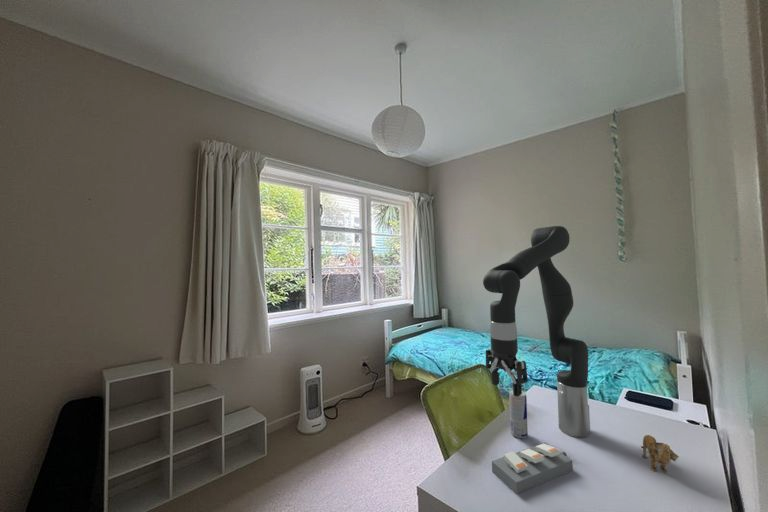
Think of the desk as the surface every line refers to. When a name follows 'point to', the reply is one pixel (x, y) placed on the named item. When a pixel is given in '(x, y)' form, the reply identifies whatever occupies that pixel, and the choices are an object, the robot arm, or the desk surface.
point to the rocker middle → (532, 455)
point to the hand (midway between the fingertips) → (505, 389)
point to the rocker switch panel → (532, 471)
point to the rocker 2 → (547, 450)
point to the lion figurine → (658, 452)
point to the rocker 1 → (515, 462)
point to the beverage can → (518, 415)
